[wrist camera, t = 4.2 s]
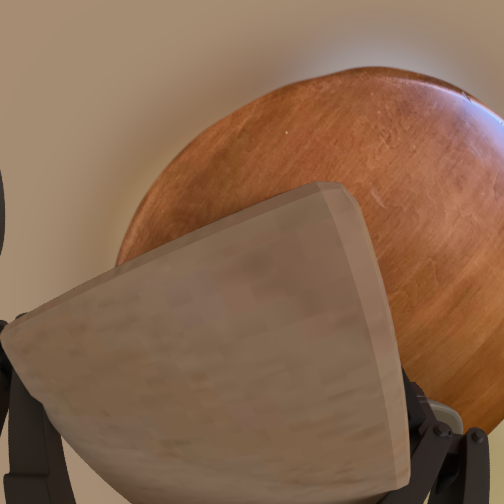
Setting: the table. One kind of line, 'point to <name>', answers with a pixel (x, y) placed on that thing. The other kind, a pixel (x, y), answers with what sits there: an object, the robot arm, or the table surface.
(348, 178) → the table surface
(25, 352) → the wooden block
